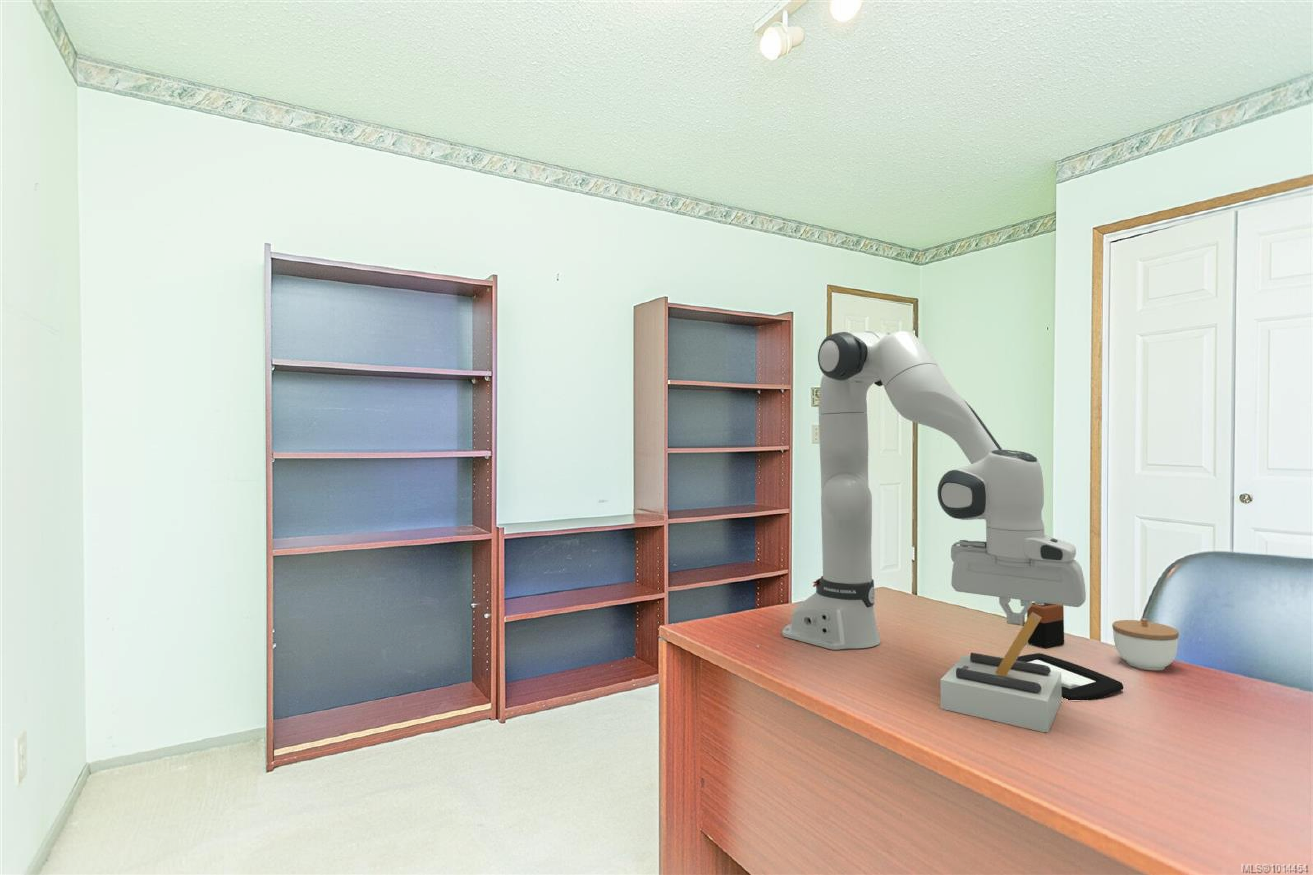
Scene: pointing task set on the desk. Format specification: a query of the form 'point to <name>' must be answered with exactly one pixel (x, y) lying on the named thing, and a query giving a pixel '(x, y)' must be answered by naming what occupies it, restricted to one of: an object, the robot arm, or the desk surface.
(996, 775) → the desk surface
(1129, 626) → the lidded jar
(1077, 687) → the black picture frame
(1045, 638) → the battery
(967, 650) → the desk surface
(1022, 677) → the box
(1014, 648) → the lever
